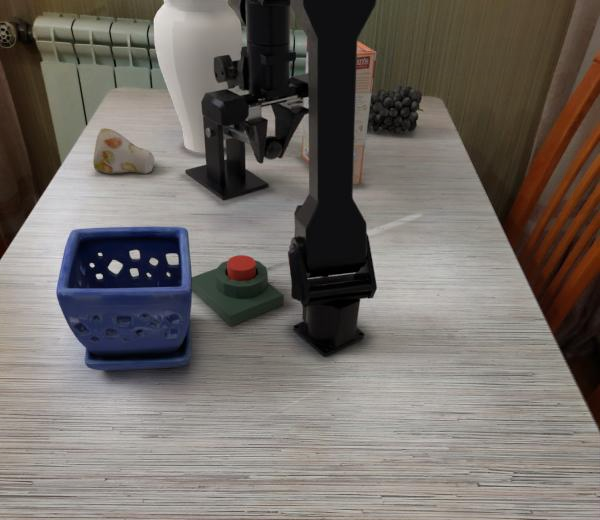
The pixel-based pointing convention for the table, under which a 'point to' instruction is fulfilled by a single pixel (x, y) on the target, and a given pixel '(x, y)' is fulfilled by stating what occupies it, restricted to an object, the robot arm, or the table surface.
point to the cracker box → (361, 108)
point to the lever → (271, 148)
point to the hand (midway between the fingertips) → (269, 159)
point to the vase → (194, 56)
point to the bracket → (224, 165)
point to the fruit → (394, 110)
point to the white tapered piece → (120, 154)
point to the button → (241, 268)
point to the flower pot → (128, 297)
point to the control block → (237, 294)
